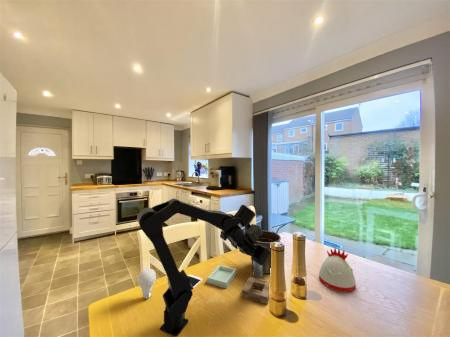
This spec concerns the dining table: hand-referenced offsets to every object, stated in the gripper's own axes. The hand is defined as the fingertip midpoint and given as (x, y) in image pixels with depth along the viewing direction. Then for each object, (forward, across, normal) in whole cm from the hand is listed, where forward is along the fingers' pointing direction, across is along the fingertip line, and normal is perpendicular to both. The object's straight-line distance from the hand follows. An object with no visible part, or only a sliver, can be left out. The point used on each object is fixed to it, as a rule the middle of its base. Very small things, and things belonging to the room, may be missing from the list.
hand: (260, 258), depth 78 cm
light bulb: (-19, +18, +38) cm, 47 cm away
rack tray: (+3, +16, +16) cm, 22 cm away
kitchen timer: (+34, -11, -15) cm, 38 cm away
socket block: (+8, 0, +10) cm, 13 cm away
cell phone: (-8, +18, +28) cm, 34 cm away
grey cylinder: (+4, 0, +6) cm, 7 cm away
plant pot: (+19, +13, 0) cm, 23 cm away
